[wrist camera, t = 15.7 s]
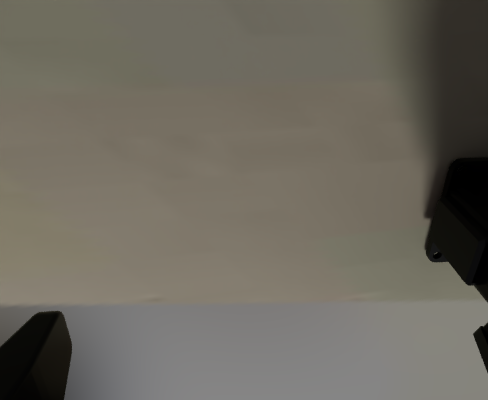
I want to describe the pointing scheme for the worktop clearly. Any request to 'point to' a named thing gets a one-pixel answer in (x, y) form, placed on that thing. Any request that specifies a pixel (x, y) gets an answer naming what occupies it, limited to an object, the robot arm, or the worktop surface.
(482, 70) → the worktop surface
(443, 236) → the robot arm
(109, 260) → the worktop surface
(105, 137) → the worktop surface
